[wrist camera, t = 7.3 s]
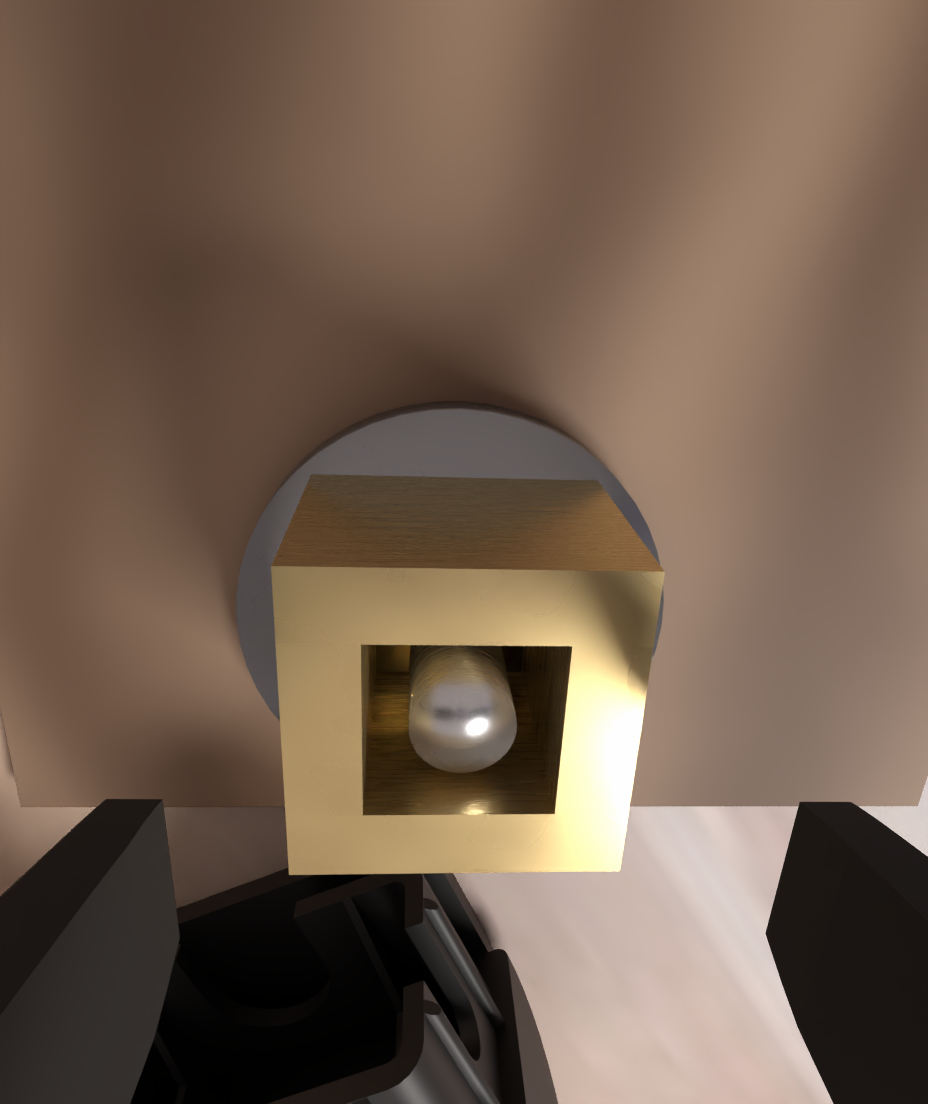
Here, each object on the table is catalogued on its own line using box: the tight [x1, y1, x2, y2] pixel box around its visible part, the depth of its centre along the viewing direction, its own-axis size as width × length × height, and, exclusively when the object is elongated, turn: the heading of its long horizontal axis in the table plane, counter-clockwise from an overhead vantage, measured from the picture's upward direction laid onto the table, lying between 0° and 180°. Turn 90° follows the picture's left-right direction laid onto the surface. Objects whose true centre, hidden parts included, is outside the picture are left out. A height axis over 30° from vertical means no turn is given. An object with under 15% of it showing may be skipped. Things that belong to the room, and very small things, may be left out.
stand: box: [236, 401, 664, 773], centre depth 13 cm, size 8×8×4 cm
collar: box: [271, 474, 665, 875], centre depth 13 cm, size 5×5×4 cm
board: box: [0, 0, 928, 807], centre depth 14 cm, size 20×18×1 cm
